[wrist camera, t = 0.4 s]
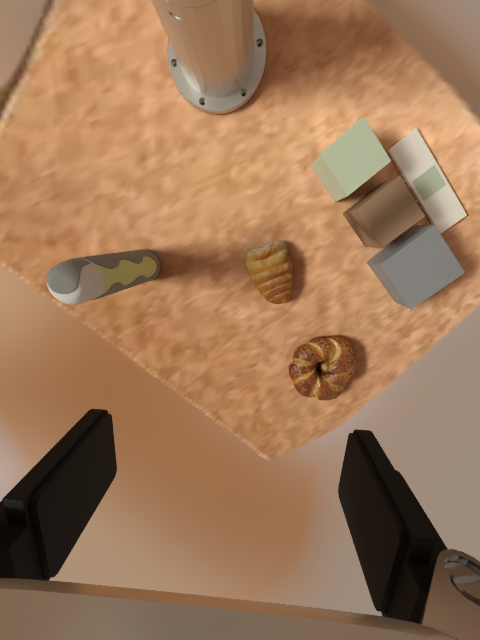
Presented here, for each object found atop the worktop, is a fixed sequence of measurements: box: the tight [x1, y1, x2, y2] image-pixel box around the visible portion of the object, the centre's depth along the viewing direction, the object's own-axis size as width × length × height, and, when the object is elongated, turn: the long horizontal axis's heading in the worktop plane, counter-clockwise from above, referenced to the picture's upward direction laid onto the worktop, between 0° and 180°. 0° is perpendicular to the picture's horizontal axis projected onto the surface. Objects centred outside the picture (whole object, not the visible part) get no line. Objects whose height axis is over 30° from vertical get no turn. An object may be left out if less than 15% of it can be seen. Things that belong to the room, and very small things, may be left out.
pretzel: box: [289, 336, 357, 400], centre depth 45 cm, size 12×11×4 cm
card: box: [387, 128, 467, 234], centre depth 38 cm, size 14×4×1 cm, turn 39°
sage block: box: [311, 117, 391, 202], centre depth 36 cm, size 6×6×6 cm
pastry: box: [246, 241, 294, 304], centre depth 42 cm, size 9×7×4 cm
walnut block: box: [343, 176, 425, 248], centre depth 37 cm, size 6×6×6 cm
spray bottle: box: [47, 250, 160, 304], centre depth 34 cm, size 5×5×20 cm
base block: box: [367, 225, 465, 309], centre depth 40 cm, size 8×8×5 cm
